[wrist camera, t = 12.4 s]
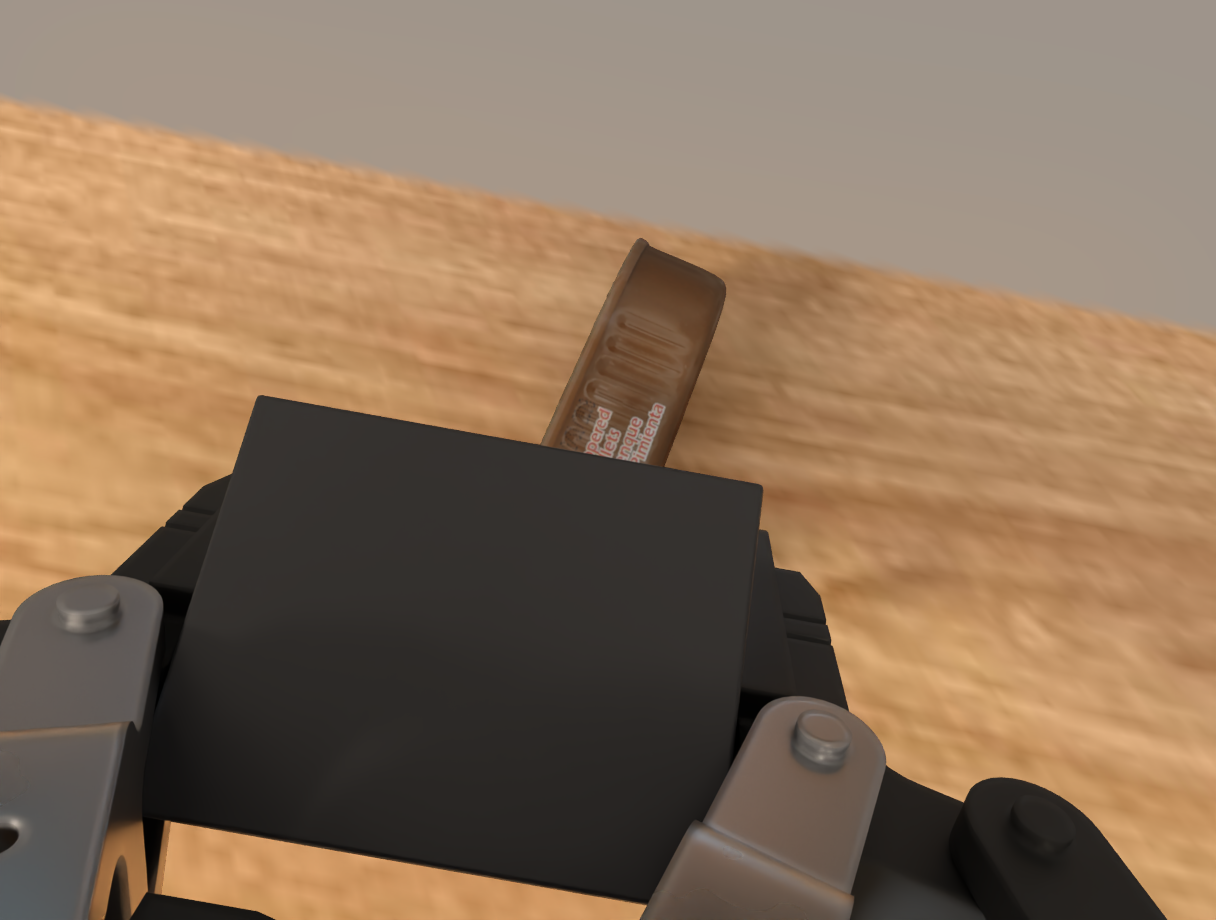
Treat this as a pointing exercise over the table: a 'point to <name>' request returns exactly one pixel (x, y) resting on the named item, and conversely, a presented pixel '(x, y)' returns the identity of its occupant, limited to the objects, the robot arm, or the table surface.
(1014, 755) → the table surface
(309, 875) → the table surface
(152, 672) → the robot arm
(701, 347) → the tin
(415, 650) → the dark grey stool
